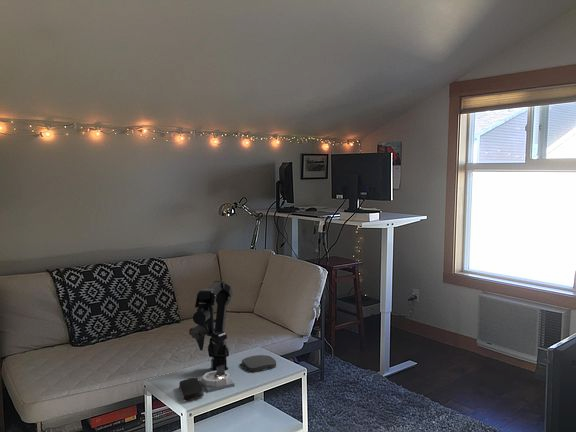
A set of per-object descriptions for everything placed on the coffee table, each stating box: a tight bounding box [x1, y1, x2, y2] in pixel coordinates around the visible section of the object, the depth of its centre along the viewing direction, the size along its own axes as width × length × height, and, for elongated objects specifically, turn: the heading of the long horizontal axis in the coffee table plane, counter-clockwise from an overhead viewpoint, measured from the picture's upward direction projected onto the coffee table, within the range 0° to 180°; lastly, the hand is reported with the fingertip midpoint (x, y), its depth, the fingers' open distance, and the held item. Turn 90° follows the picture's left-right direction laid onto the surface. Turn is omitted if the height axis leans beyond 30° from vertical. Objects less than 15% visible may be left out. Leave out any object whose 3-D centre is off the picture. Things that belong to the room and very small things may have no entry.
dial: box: [207, 365, 226, 380], centre depth 221 cm, size 8×8×6 cm
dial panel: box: [198, 370, 235, 393], centre depth 221 cm, size 12×12×4 cm
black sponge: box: [178, 377, 205, 402], centre depth 213 cm, size 16×8×4 cm, turn 21°
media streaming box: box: [241, 354, 277, 373], centre depth 243 cm, size 15×15×3 cm
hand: (208, 352), depth 224 cm, fingers open, 9 cm apart
